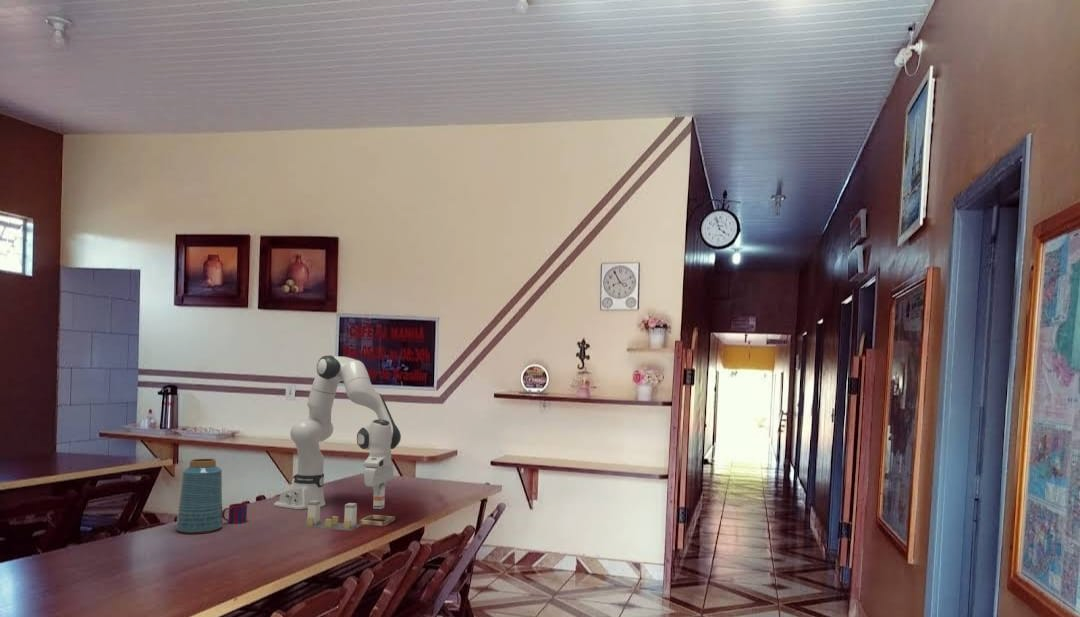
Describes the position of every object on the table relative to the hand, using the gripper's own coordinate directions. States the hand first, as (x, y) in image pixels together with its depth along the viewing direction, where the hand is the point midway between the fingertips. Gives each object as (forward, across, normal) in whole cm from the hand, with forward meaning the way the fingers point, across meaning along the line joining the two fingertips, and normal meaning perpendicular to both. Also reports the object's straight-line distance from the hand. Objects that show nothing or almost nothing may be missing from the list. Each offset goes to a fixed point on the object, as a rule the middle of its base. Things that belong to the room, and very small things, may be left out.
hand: (379, 494), depth 298 cm
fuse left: (+11, +12, -22) cm, 28 cm away
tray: (+12, 0, 0) cm, 12 cm away
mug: (+12, +15, -56) cm, 60 cm away
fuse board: (+12, +12, -14) cm, 22 cm away
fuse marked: (+6, 0, 0) cm, 6 cm away
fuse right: (+11, +12, -6) cm, 18 cm away
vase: (+12, +29, -61) cm, 69 cm away
